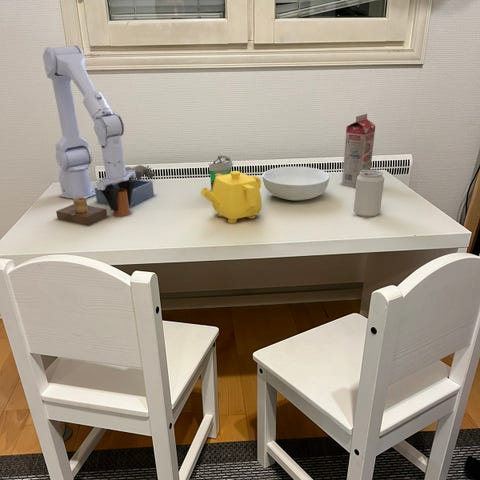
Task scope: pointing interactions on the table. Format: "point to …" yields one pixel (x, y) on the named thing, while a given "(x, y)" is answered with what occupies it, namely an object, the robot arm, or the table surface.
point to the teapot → (235, 195)
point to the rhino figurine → (141, 171)
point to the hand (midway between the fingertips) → (120, 207)
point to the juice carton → (357, 149)
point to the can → (368, 193)
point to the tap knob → (80, 205)
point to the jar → (122, 203)
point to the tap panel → (82, 215)
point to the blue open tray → (139, 192)
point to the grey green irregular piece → (220, 168)
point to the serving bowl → (295, 182)
